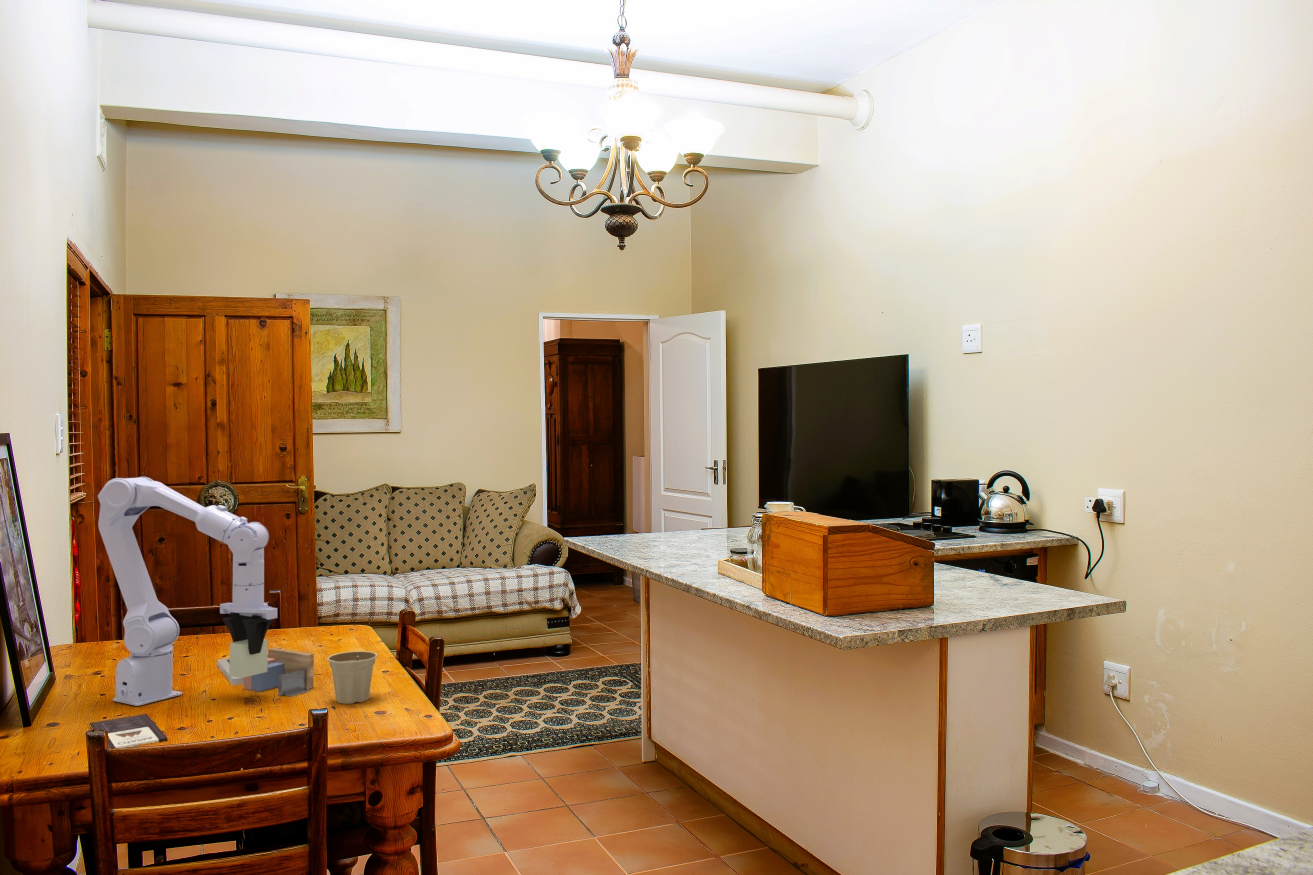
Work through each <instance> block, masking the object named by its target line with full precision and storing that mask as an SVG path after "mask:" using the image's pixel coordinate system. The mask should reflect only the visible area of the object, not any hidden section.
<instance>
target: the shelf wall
mask: <svg viewBox="0 0 1313 875" xmlns="http://www.w3.org/2000/svg"><path fill="white" fill-rule="evenodd" d="M314 655H315V654H314V653H311V652H305V651H299V650H298V651H297V650H291V649H283V648H277V647H272V648H268V658H274V659H276V662H278V663H284V674H286V673H289V672H293V671H297V670H301V669H305V670H306V689H310V688H311V689H313V688H314V677H315V676H314V675H315V674H314V672H315V671H314V669H315V668H314V664H315V663H314V661H315V658H314Z"/></svg>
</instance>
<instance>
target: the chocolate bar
mask: <svg viewBox="0 0 1313 875" xmlns="http://www.w3.org/2000/svg"><path fill="white" fill-rule="evenodd" d="M90 725H91V727H92V728H93V729H91V730H106V731H107V732H108V736H109V740H108V748H111V749H113V748H126V747H132V748H137V747H136V746H138V747H142V746H144V745H140V746H139V744H147V743H155V742H160V743H163V742H162V741H166V742H168V740H169V739H168V736H167V735H166V734H165V733H164V732H163V731H162V729H160V727H159V726H158V724H156V723H155V721H153V719H152V718H151V717H150V716H149V715H148V714H147V713H142V714H138V715H130V716H124V717H117V718H111V719H106V720H100V721H93V722H89V726H90ZM91 727H90V728H91ZM155 744H156V743H155Z"/></svg>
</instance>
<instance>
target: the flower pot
mask: <svg viewBox="0 0 1313 875" xmlns="http://www.w3.org/2000/svg"><path fill="white" fill-rule="evenodd" d="M377 657H378V654H377V653H376V652H372V651H368V650H367V651H366V650H359V651H358V650H356V651H355V650H354V651H346V652H344V651H343V652H339V653H335V654H331V655H329V656H327V658H326V660H327V662H328V663H329V667H330V669H331V672H332V673H331V674H332V680H333V687H334V688H333V689H334V694H335V701H336V702H337V703H338V704H342V705H345V704H347V705H352V704H354V703H362V702H363V703H364V702H366V701H368V700H369V699H370V694H371V693H370V692H371V687H372V686H371V685H372V677H373V669H374V665H375V664H376V659H377Z"/></svg>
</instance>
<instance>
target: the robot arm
mask: <svg viewBox="0 0 1313 875" xmlns="http://www.w3.org/2000/svg"><path fill="white" fill-rule="evenodd" d="M97 499H98V501H99V503H100V506H99V514H98V516H99V517H98V523H97V524H98V530H99V533H100V536H101V539H102V543H103V544H104V548H105V550H106V553H107V556H108V560H109V561H110V564H111V568H112V570H113V573H114V576H115V578H116V581H117V584H118V587H119V590H120V592H121V595H122V598H123V602H124V604H125V607H126V609H127V611H126V614H125V616H124V618H123V621H122V625H123V628H124V637H123V640H124V646H125V648H126V649H127V650H128V651H129V652H130V655H128V657H125V658H122V659H120V660H119V661H118V663H117V665H116V668H115V697H114V698H112V701H113V702H117V703H122V704H126V705H129V706H130V705H132V706H135V707H138V706H143V705H147V704H151V703H154V702H155V703H156V702H159V701H163V700H167V699H171V698H174V697H178V696H182V695H183V692H182V691H177V690H173V667H174V666H173V663H174V662H173V658H174V657H173V655H174V654H173V653H174V650H173V649H174V643H175V642H176V640H177V639H178V637H179V636H180V625H179V623H178V621H177V620H176V619H175V618H174V617H173V616H172V615H171V613H170V611H169V608H168V607H167V606H166V605H165V604H163V603H162V602H161V601H159V599H158V598H157V595H156V591H155V589H154V586H153V582H152V580H151V577H150V575H149V572H148V569H147V567H146V563H145V560H144V558H143V556H142V552H141V550H140V547H139V545H138V540H137V538H136V535H135V532H134V530H133V526H134V525H135V523H136V521H137V520H138V519H139V517H140V516H141V515H142V514H143V513H145V511H147V509H150V507H154V506H155V507H160V508H162V509H165V510H166V511H169V512H172V513H174V514H176V515H178V516H181V517H183V518H185V519H188V520H190V521H192V522H195V527H196V528H197V530H198V531H199V532H201V533H202V534H204V535H207V536H209V537H211V538H213V539H215V540H217V541H218V542H221V543H223V544H225V545H227V546H228V548H229V550H230V551H231V553H232V602H226V603H225V602H223V603H220V604H219V614H221V615H222V614H223V615H225V614H229V615H228V616H226V617H223V623H224V624H225V626H226V628H227V630H228V632H229V633H230V637H231V640H232V642H237V641H242V640H247V639H248V649H249V654H251V655H253V654H257V653H260V652H261V648H262V645H263V641H264V639H266V638H265V637H266V636H267V632H268V630H269V628H270V626H271V624H272V623H273V621H274V619H278V607H272V606H269V604H268V603H266V602H265V547H266V546H267V545H268V542H269V539H270V534H269V531H268V529H267V527H266V526H264V524H262V523H260V522H258V521H252V522H248V518H246V517H245V516H237V515H236V514H233V513H231V512H229V511H227V507H226V506H224V505H222V504H218V505H214V504H213V505H212V504H211V505H209V506H203V505H201V504H200V503H198V502H196V501H194V500H192V499H190V498H188V497H187V496H184V495H183V494H181V493H180V492H178V491H176V490H174V489H172V488H171V487H168V486H167V485H165V484H163V483H162V482H160V481H157V480H153V479H152V478H150V477H147V476H139V477H124V478H123V477H115V478H112V479H110V480H108V481H107V482H106V483H105V485H104V486H103V487H102V489H101V490H100V492H99V493H98V494H97Z"/></svg>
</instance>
